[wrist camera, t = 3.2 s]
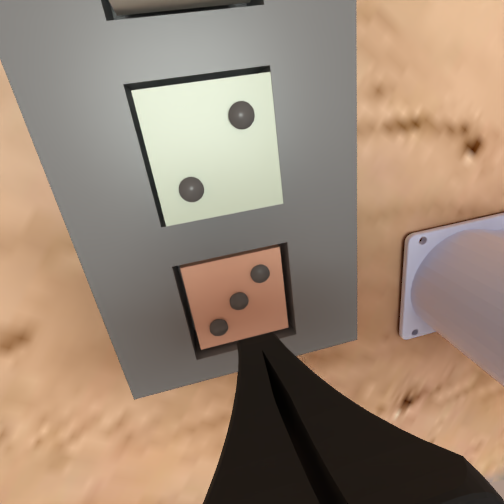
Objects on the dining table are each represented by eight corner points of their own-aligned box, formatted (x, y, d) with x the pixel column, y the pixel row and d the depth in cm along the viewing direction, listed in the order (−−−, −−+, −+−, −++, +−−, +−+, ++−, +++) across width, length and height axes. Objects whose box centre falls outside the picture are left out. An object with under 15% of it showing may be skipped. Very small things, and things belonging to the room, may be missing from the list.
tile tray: (307, -191, 12) (355, -303, 9) (329, 306, 21) (357, 339, 18) (-50, -187, 10) (-151, -324, 7) (141, 353, 19) (134, 399, 16)
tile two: (258, 78, 12) (271, 71, 11) (271, 193, 14) (284, 204, 13) (137, 94, 12) (130, 90, 10) (167, 213, 14) (166, 227, 12)
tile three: (269, 234, 17) (280, 248, 15) (278, 308, 18) (289, 329, 17) (179, 253, 16) (180, 269, 14) (198, 328, 18) (201, 351, 16)
